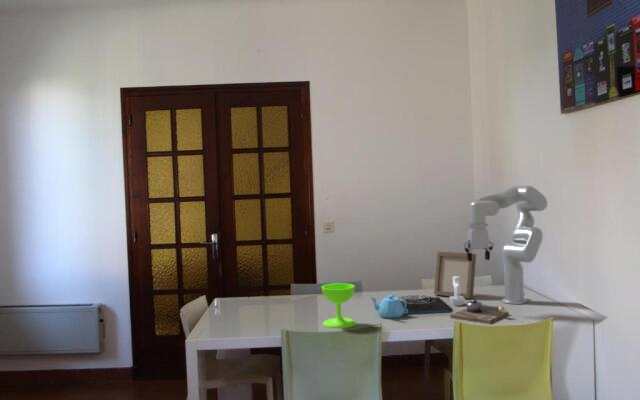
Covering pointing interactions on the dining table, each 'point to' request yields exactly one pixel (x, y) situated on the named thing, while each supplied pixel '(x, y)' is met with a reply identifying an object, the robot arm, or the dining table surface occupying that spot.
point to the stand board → (479, 316)
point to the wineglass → (338, 303)
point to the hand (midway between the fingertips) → (478, 260)
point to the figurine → (457, 293)
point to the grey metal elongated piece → (482, 307)
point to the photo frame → (454, 273)
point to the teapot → (390, 307)
